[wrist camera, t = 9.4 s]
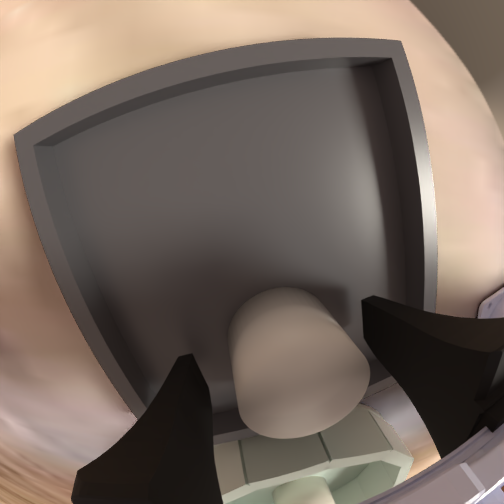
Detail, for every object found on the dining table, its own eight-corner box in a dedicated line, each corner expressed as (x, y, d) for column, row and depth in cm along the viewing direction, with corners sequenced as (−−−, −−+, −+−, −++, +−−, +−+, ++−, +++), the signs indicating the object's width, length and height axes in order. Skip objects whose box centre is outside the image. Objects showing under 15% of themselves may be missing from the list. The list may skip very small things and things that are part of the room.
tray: (370, 56, 10) (400, 40, 8) (405, 343, 15) (428, 365, 13) (45, 137, 9) (13, 134, 7) (167, 419, 14) (164, 452, 12)
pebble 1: (321, 273, 12) (368, 320, 8) (333, 355, 13) (369, 411, 9) (213, 305, 11) (219, 370, 8) (243, 384, 13) (257, 450, 9)
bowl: (391, 366, 16) (429, 412, 11) (378, 469, 21) (395, 500, 16) (147, 436, 14) (142, 495, 10) (225, 514, 19) (230, 550, 15)
